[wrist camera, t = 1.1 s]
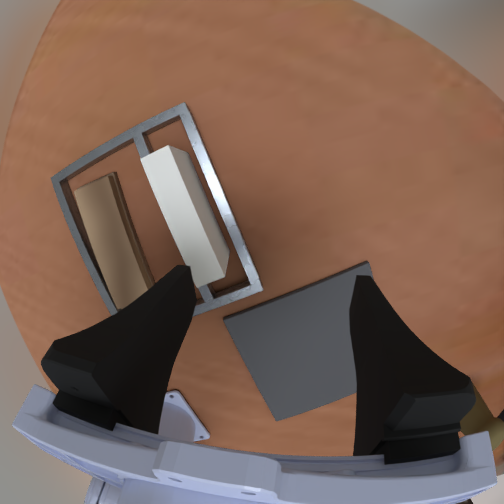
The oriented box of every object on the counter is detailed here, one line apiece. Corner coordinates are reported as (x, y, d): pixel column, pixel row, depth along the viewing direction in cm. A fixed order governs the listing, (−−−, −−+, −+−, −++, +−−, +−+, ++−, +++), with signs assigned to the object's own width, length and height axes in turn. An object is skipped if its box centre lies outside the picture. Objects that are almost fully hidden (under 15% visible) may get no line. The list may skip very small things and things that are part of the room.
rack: (130, 332, 28) (125, 339, 27) (58, 177, 24) (50, 178, 23) (262, 283, 27) (263, 289, 26) (188, 105, 23) (185, 101, 22)
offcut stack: (126, 306, 28) (117, 316, 26) (82, 188, 25) (70, 189, 23) (162, 296, 28) (155, 306, 26) (118, 172, 25) (107, 172, 23)
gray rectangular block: (208, 259, 27) (196, 287, 20) (166, 162, 25) (140, 159, 18) (230, 250, 27) (225, 276, 20) (188, 152, 24) (168, 145, 18)
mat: (275, 417, 31) (276, 421, 31) (223, 317, 28) (223, 320, 27) (392, 372, 30) (394, 375, 30) (366, 260, 27) (369, 262, 26)
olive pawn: (434, 418, 33) (468, 469, 22) (444, 386, 31) (486, 439, 21) (466, 405, 33) (502, 450, 22) (476, 373, 31) (520, 418, 21)
